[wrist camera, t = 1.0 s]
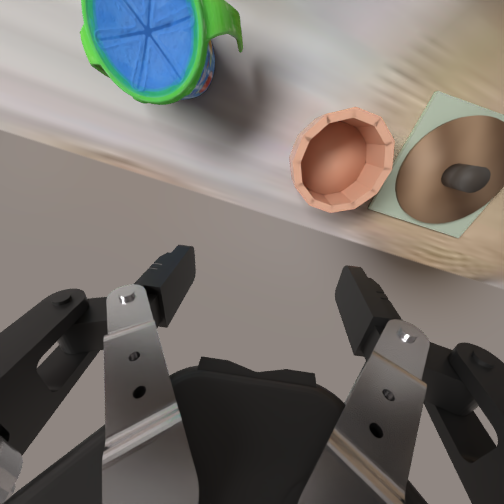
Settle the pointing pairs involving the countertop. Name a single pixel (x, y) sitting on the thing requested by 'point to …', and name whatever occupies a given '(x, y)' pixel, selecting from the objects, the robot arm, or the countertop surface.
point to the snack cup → (157, 44)
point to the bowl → (342, 159)
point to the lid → (452, 170)
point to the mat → (432, 117)
